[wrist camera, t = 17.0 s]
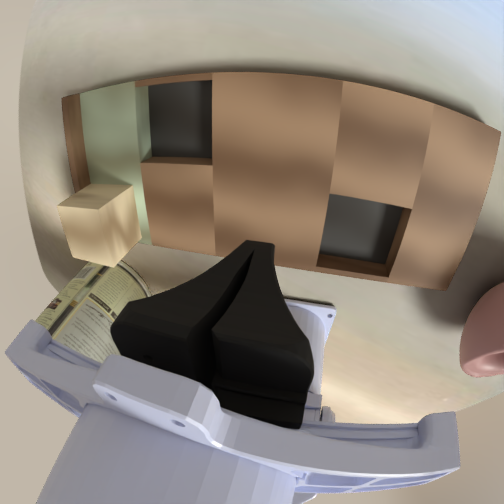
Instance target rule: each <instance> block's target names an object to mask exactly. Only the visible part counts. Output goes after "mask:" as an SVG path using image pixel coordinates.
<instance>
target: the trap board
mask: <svg viewBox="0 0 504 504" xmlns="http://www.w3.org/2000/svg"><path fill="white" fill-rule="evenodd" d="M62 111H63V122H64V131H65V139H66V146H67V153H68V159H69V165H70V170H71V176H72V181H73V185H74V190H75V193H77V192H78V191H80V190H81V189H83V188H85V187H86V186H88V185H90V184H115V185H133V189H134V196H135V202H136V208H137V214H138V220H139V225H140V231H141V236H142V238H141V239H140V240H139V241H138V242H137V243H143V244H149V245H154V246H160V247H166V248H172V249H178V250H184V251H190V252H196V253H202V254H208V255H214V256H220V257H226V256H228V255H229V254H230V253H231V252H232V251H234V250H235V249H236V248H237V247H238V246H239V245H241V244H242V243H243V242H244V241H246V240H252V241H260V242H267V243H273V244H274V245H275V254H274V265H276V266H282V267H289V268H295V269H301V270H308V271H314V272H321V273H327V274H334V275H340V276H347V277H353V278H360V279H367V280H373V281H380V282H387V283H394V284H400V285H407V286H414V287H421V288H428V289H435V290H442V291H446V290H447V288H448V286H449V284H450V282H451V280H452V278H453V276H454V274H455V272H456V270H457V268H458V266H459V264H460V261H461V259H462V257H463V255H464V252H465V250H466V248H467V245H468V243H469V241H470V238H471V236H472V233H473V231H474V228H475V225H476V223H477V220H478V217H479V214H480V212H481V209H482V206H483V203H484V200H485V196H486V193H487V190H488V187H489V183H490V179H491V176H492V172H493V168H494V164H495V160H496V155H497V151H498V146H499V141H500V136H501V132H500V131H498V130H496V129H494V128H492V127H490V126H488V125H486V124H484V123H482V122H480V121H477V120H475V119H473V118H470V117H468V116H466V115H463V114H461V113H458V112H456V111H453V110H451V109H448V108H445V107H443V106H440V105H437V104H434V103H431V102H428V101H425V100H422V99H419V98H415V97H412V96H409V95H405V94H402V93H398V92H394V91H390V90H386V89H382V88H378V87H373V86H369V85H364V84H359V83H354V82H348V81H343V80H337V79H330V78H323V77H315V76H306V75H296V74H283V73H265V72H215V73H197V74H184V75H174V76H165V77H158V78H150V79H144V80H138V81H132V82H127V83H122V84H117V85H112V86H107V87H103V88H99V89H95V90H91V91H87V92H83V93H80V94H75V95H70V96H66V97H63V98H62Z"/></svg>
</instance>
